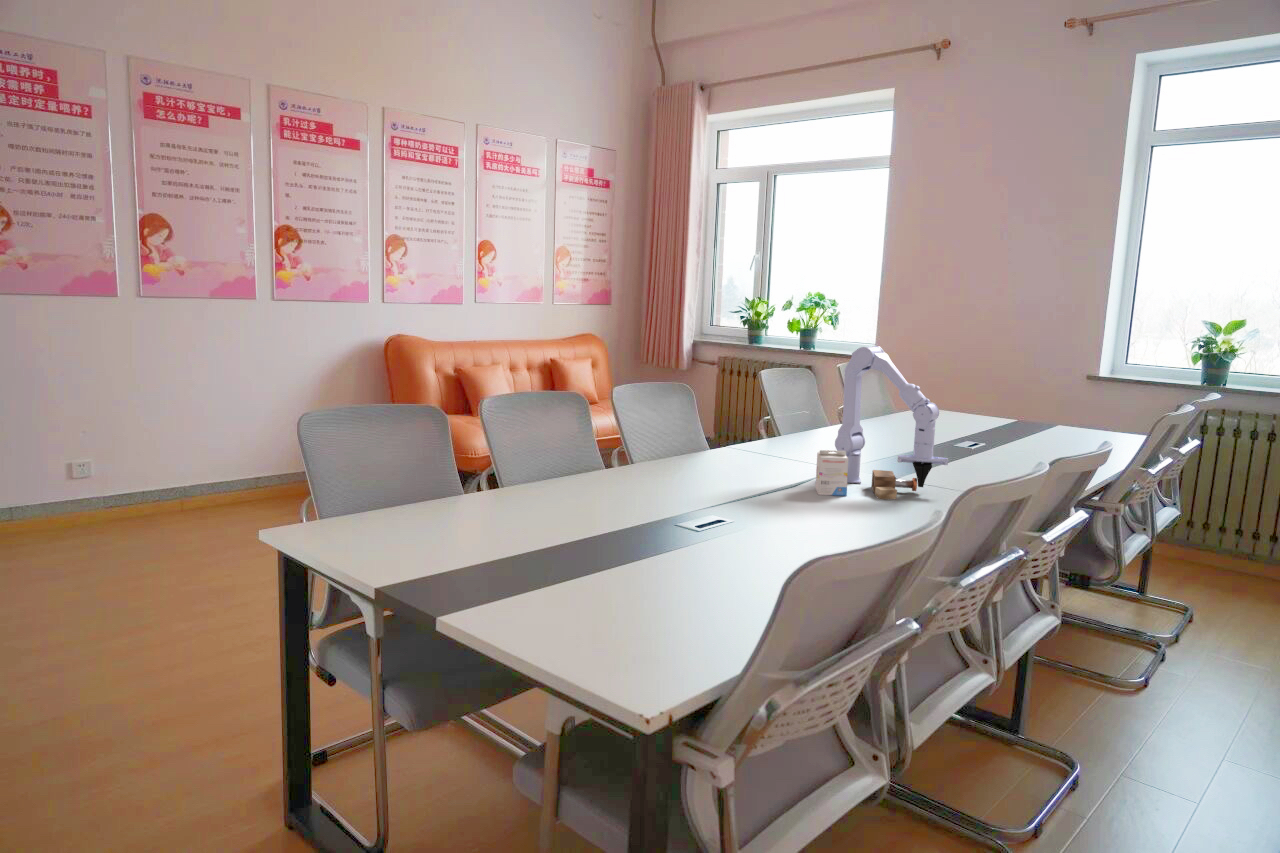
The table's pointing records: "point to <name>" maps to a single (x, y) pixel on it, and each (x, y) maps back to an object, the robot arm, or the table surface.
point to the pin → (907, 484)
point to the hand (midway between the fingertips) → (920, 486)
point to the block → (885, 492)
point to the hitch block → (883, 479)
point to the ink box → (831, 473)
